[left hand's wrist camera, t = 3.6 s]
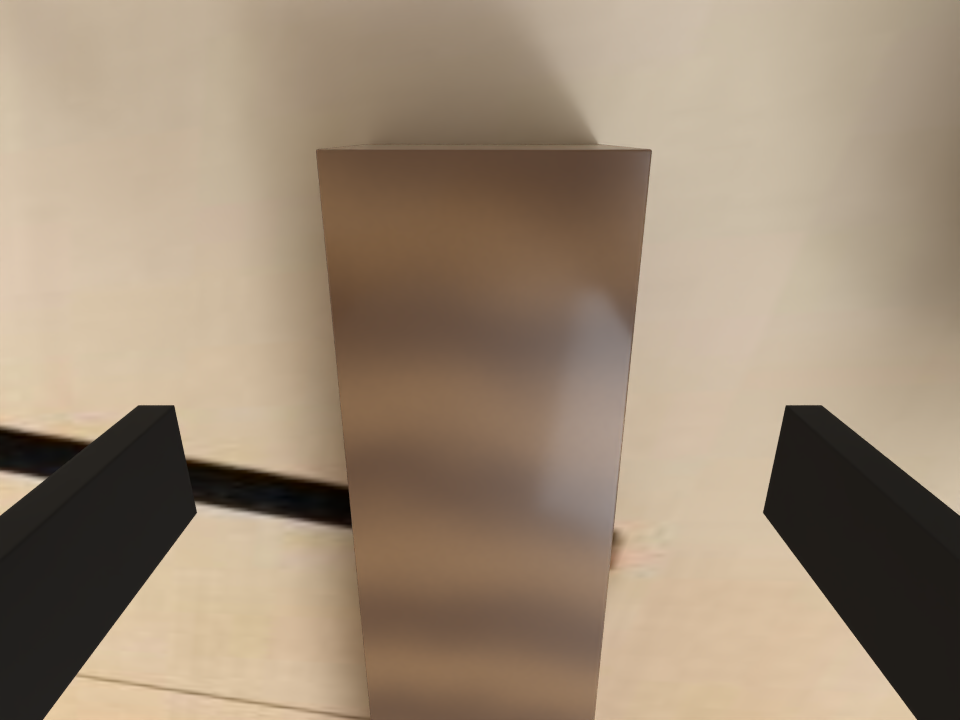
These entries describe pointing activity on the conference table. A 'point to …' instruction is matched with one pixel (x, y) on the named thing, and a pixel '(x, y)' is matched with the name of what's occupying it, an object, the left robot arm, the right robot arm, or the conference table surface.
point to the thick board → (483, 413)
